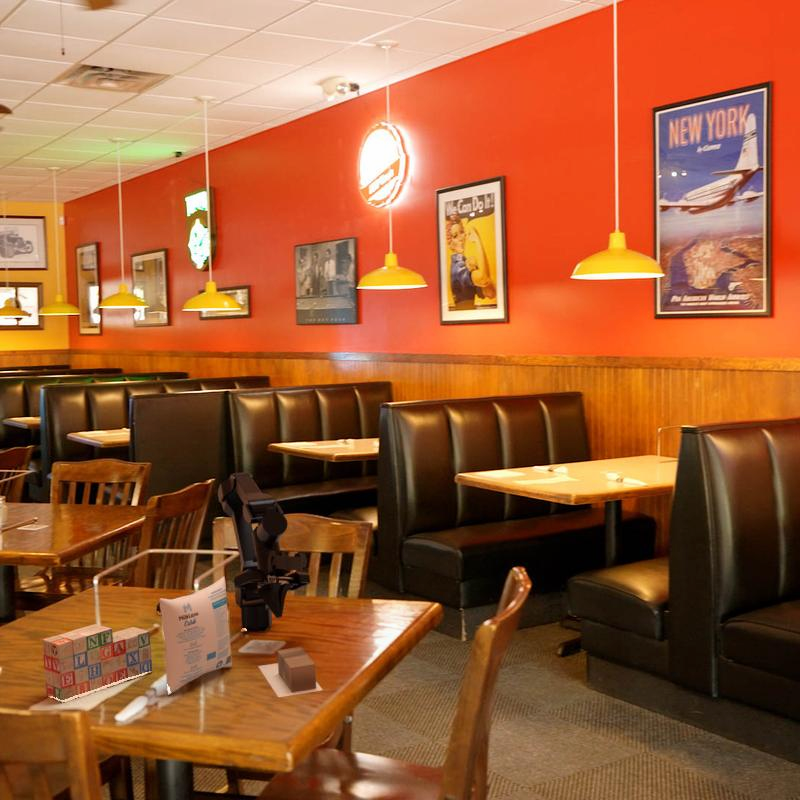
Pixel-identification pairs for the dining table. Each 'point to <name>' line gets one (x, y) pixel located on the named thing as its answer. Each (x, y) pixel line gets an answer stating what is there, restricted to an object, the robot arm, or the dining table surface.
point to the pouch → (196, 634)
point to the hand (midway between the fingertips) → (279, 617)
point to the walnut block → (296, 669)
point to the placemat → (281, 681)
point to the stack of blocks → (94, 659)
